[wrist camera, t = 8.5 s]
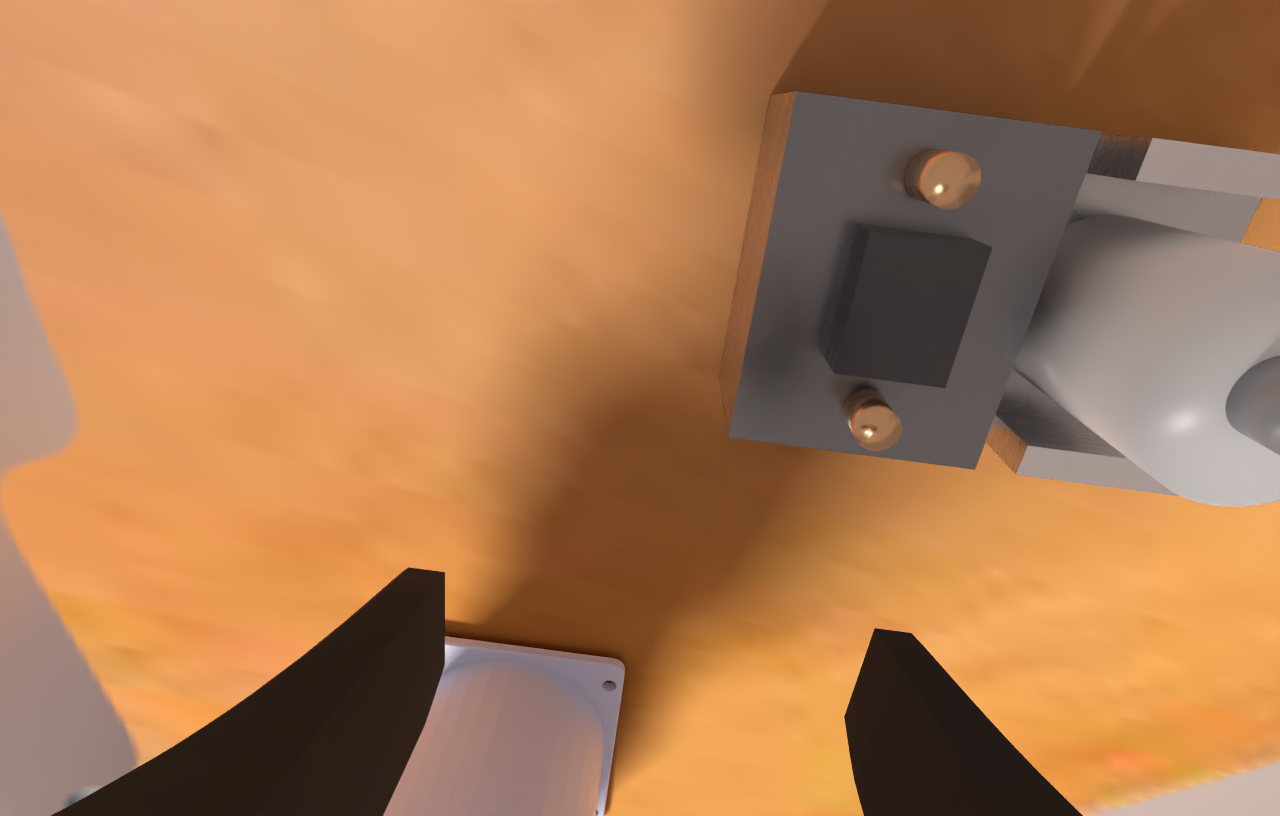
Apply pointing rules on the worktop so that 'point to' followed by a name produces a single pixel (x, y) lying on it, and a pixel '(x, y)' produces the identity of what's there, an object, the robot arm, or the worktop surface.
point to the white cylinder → (1166, 353)
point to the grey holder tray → (939, 276)
